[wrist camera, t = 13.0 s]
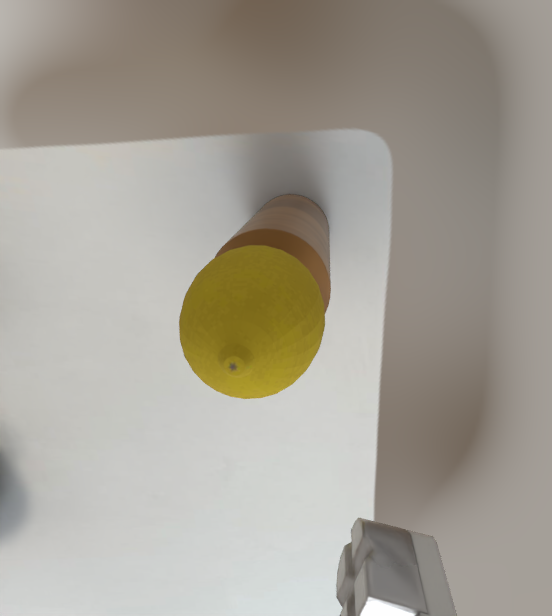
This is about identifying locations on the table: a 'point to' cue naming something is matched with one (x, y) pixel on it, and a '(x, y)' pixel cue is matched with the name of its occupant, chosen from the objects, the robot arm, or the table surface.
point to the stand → (291, 235)
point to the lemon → (252, 321)
